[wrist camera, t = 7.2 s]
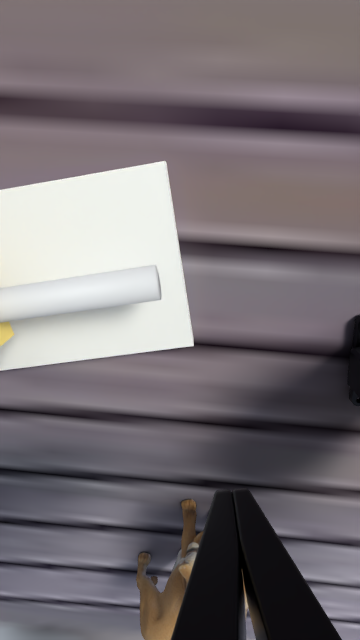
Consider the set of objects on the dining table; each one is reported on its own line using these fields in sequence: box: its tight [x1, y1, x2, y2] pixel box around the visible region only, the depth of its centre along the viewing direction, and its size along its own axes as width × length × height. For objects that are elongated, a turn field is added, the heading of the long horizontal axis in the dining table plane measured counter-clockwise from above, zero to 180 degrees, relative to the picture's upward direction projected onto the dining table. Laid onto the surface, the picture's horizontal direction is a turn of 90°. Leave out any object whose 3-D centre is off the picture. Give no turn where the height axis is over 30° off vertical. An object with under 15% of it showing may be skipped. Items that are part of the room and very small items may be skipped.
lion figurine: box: [136, 499, 249, 640], centre depth 23 cm, size 15×5×9 cm, turn 159°
